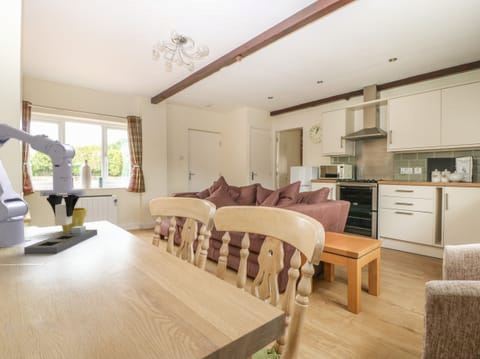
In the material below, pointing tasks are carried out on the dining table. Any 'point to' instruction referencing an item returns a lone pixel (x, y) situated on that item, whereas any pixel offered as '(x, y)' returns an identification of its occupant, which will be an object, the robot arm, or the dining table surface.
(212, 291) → the dining table surface
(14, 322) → the dining table surface
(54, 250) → the grey slotted board
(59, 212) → the plug
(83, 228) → the white cube
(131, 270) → the dining table surface
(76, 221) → the plant pot
